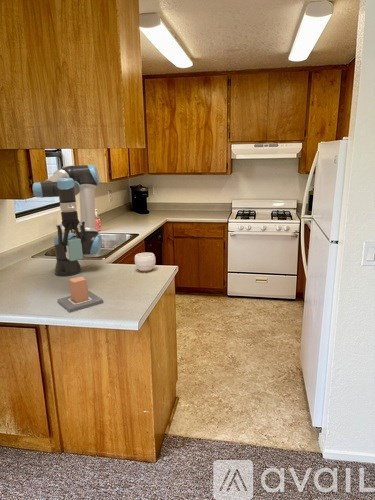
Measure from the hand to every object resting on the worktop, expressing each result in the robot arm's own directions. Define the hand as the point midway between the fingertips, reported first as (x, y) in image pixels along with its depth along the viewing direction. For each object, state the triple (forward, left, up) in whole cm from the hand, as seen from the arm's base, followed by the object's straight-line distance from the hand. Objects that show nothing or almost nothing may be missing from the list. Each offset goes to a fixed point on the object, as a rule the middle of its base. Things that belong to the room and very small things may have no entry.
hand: (74, 256), depth 178 cm
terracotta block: (+15, -5, -17) cm, 23 cm away
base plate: (+15, -5, -18) cm, 24 cm away
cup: (-6, +44, -19) cm, 48 cm away
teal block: (0, 0, -1) cm, 1 cm away
